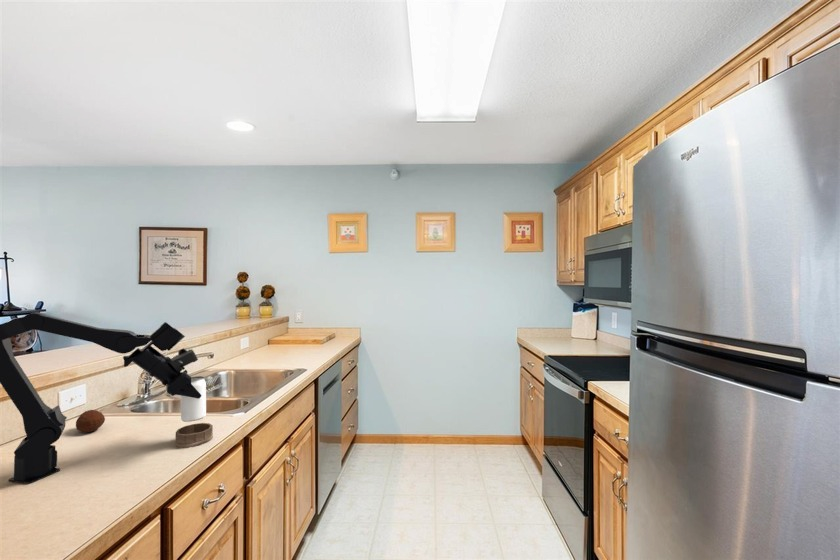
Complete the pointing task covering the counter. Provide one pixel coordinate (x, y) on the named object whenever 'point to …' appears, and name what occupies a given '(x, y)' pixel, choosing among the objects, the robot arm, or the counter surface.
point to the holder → (194, 435)
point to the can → (194, 402)
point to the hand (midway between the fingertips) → (198, 394)
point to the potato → (90, 421)
